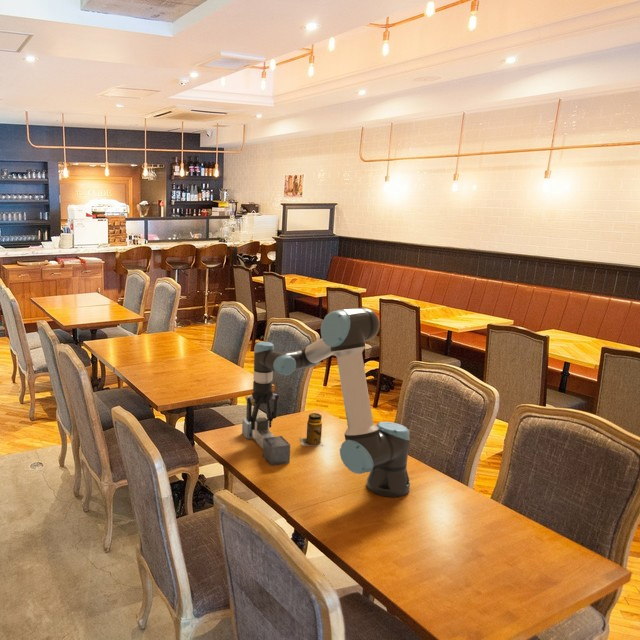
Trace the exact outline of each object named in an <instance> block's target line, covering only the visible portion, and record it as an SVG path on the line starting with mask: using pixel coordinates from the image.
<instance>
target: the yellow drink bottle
mask: <svg viewBox="0 0 640 640" xmlns="http://www.w3.org/2000/svg"><path fill="white" fill-rule="evenodd" d="M306 422H307V425H306V438H304V437H300V443H301V446H302V447H303V446H304V447H305V446H307V447H311V446H312V447H322V446H324V445H323V443H322V431H323V430H322V427H323V421H322V414H320V413H316V412H313V413H309V414H308V419H307V421H306Z"/></svg>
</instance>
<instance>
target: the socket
mask: <svg viewBox="0 0 640 640" xmlns="http://www.w3.org/2000/svg"><path fill="white" fill-rule="evenodd" d="M257 418H261V416H260V417H258V416H257ZM241 427H242V431H241V434H242V435H243V437H245V438H246V440H249V439H250V440H251V439H253V438H252V437H251V436H250V434H249V433H250V424H249V421H248V420H247V419H246V418H243V419H242V425H241Z"/></svg>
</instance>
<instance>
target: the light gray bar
mask: <svg viewBox="0 0 640 640" xmlns="http://www.w3.org/2000/svg"><path fill="white" fill-rule="evenodd" d="M267 419H268V418H267V417H260V418H256V422H257V438H254V437H253V430H252V429H251V422H249V424H250V433H249V434H250V436H251V437H252V438H251V439H252V440H254V442H256V444H257V445H259V447H260V448H261V449H262V450H263V438H269V437H276V436H275V435H274V434H273V433H272V432H271V431H270V429H269V430H268V420H267Z"/></svg>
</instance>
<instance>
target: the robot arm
mask: <svg viewBox="0 0 640 640" xmlns="http://www.w3.org/2000/svg"><path fill="white" fill-rule="evenodd" d="M380 327H381V323H380V319H379V316H378V315H377V313H376V312H375V311H374V310H372V309H370V308H367V307H354V308H346V309H345V308H344V309H338V310H334V311H331V312H329V313H327V314H326V315H325V316H324V319H323V320H322V322H321V325H320V335H321V338H320V339H317V340H316V341H314V342H312V343H310V344H309V345H307V346H305V347H303V348H302V349H297V350H292V351H285V352H279V351H276V350H275V345H274V343H273V342H270V341H260V342H259V341H258V342H256V343H255V345H254V351H253V382H252V394H251V395H250V396H245V401H246V416H245V417H246V418H245V419H247V420H248V421H249V422H251V429H252V430H253V437H254V438H257V422H256V418H257V417H258V413H259V410H260V407H261V405H262V404H264V409H265V414H266V415H265V416H266V419H267V420H268V430H269V431H270V428H272V422H273V420H274V419H277V408H278V399H279V394H277V393H273V375H274V374H273V373H276V374H279V375H282V376H283V375H284V376H290V375H291V374H293V373H294V372H295V371H297V370H300V369H308V368H313V367H316V366H318V365H319V363H320V362H321V361H323V360H325V359H327V358H329V357H331V356H333V355H334V356H335V358H336V362H337V367H338V375H339V381H340V388H341V392H342V399H343V405H344V411H345V418H346V422H347V423H346V424H347V427H346V429H345V431H344V433H343V434H344V441H343V442H342V443H341V445H340V447H339V455H340V458H341V462H342V463H343V465H344V467H346V468H347V469H348V470H349V471H350V472H351V473H353V474H358V475H360V474H365V473H369V474H368V476H367V479H366V487H367V489H369V491H371V492H372V493H374V494H376V495H379V496H381V497H387V498H398V497H402V496H406V495H407V494H408V493H409V492H410V488H411V487H410V486H411V482H410V478H409V473H408V469H407V466H408V457H409V456H408V455H409V447H410V430H409V429H408V428H407V427H406V426H405V425H402V424H400V423H397V422H391V421H379V422H378V423H377V424H374V420H373V412H372V407H371V401H370V395H369V390H368V382H367V377H366V376H367V375H366V370H365V365H364V364H365V363H364V358H363V357H364V356H363V352H364V351H365V348H366V342H367V341H371V340H372V339H374V338H375V337H376V336H377V335H378V333H379V331H380ZM253 400H254V403H253ZM270 400H271V405H270ZM252 403H253V405H252ZM270 406H271V407H270ZM252 407H253V408H252Z"/></svg>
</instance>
